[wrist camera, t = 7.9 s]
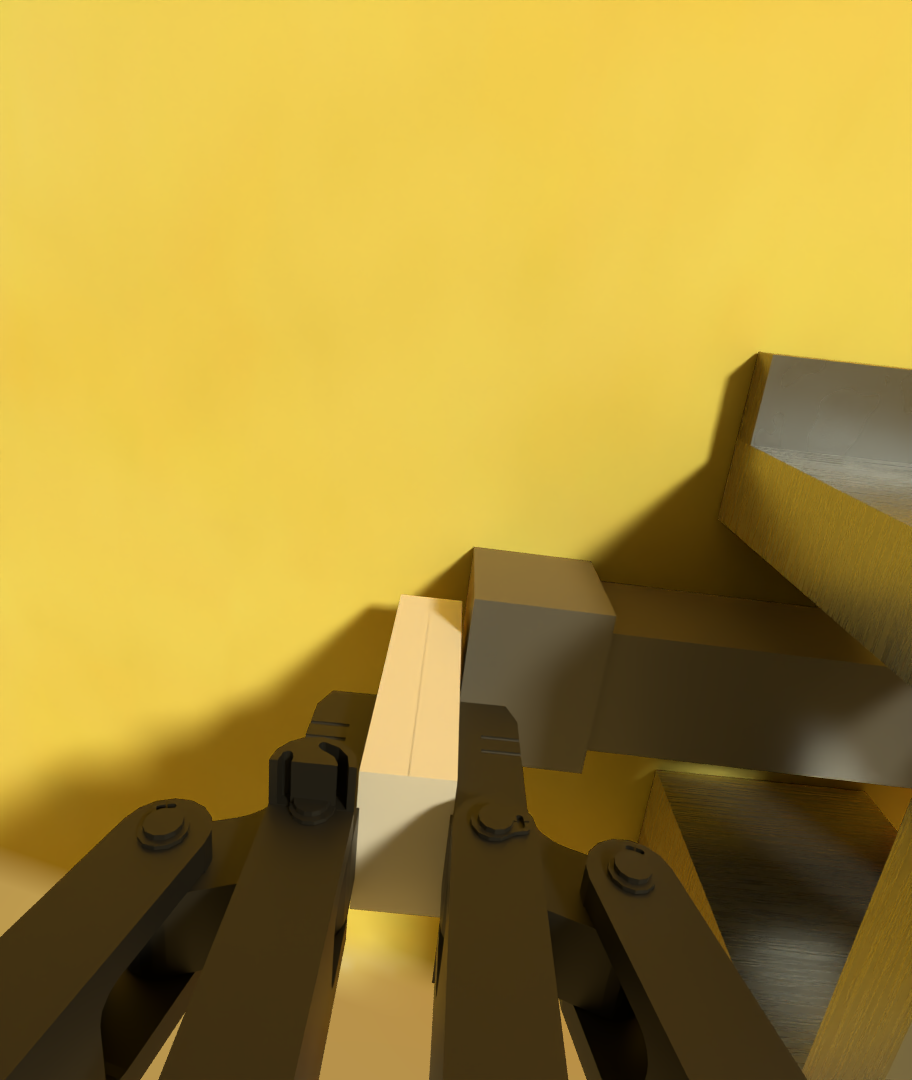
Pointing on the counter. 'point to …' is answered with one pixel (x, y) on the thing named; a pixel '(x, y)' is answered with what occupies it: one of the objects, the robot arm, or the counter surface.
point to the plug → (676, 675)
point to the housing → (800, 810)
